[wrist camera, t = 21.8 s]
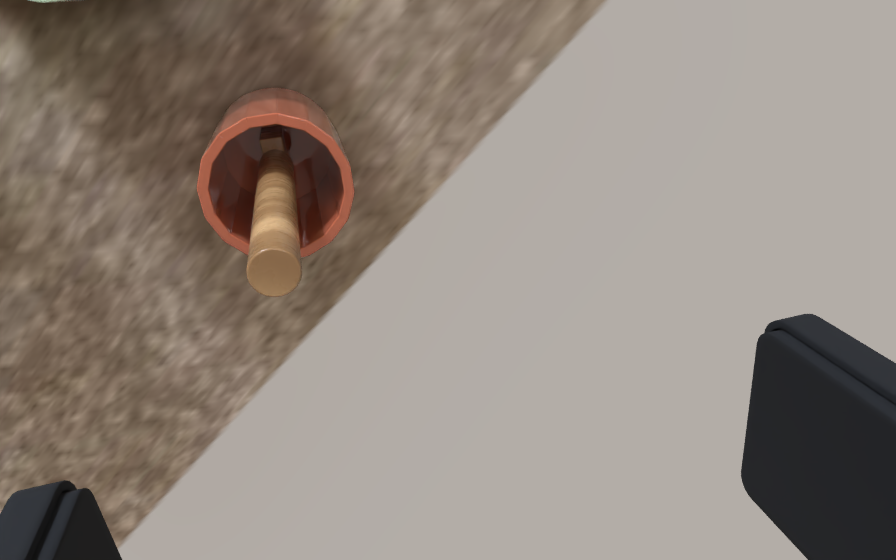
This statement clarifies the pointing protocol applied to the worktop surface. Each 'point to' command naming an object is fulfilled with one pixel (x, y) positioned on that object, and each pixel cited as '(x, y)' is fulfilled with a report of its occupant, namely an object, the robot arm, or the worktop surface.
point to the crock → (237, 162)
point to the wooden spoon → (274, 221)
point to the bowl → (50, 0)
